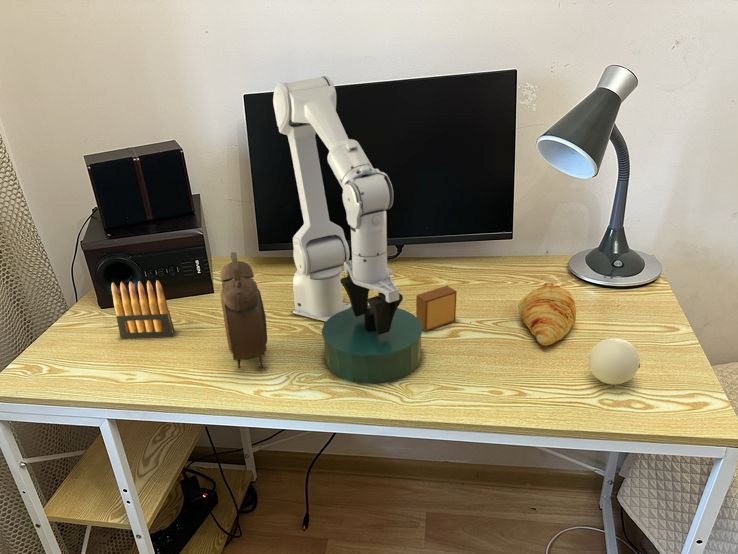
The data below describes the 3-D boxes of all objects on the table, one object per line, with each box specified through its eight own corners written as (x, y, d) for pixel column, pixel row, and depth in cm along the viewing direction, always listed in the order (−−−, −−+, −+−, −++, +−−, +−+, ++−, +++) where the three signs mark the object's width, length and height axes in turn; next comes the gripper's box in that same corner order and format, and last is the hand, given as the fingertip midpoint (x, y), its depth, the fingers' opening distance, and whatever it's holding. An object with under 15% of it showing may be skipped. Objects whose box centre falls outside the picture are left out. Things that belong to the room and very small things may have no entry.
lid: (309, 354, 107) (307, 331, 105) (338, 306, 121) (337, 285, 119) (411, 365, 102) (411, 341, 100) (430, 314, 116) (430, 292, 113)
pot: (313, 377, 110) (311, 350, 107) (340, 329, 123) (339, 304, 121) (410, 389, 105) (410, 361, 102) (427, 337, 118) (428, 312, 115)
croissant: (559, 369, 112) (589, 336, 107) (509, 341, 112) (536, 308, 107) (558, 310, 129) (584, 280, 124) (514, 286, 129) (538, 255, 124)
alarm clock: (275, 374, 112) (261, 270, 101) (234, 381, 111) (216, 276, 100) (266, 334, 124) (253, 238, 114) (228, 340, 123) (212, 243, 113)
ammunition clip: (120, 338, 127) (106, 284, 121) (123, 334, 129) (109, 280, 123) (172, 336, 126) (160, 281, 120) (175, 332, 128) (163, 277, 122)
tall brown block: (415, 325, 123) (416, 294, 119) (445, 315, 125) (446, 285, 122) (425, 331, 120) (426, 301, 117) (455, 321, 122) (457, 291, 119)
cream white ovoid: (639, 395, 98) (649, 355, 95) (588, 392, 100) (595, 352, 96) (628, 360, 107) (636, 322, 103) (580, 358, 108) (586, 320, 105)
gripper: (415, 258, 99) (414, 334, 106) (367, 231, 110) (369, 301, 117) (376, 269, 97) (378, 346, 104) (331, 241, 108) (336, 311, 115)
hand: (371, 323), depth 110 cm, fingers open, 7 cm apart
